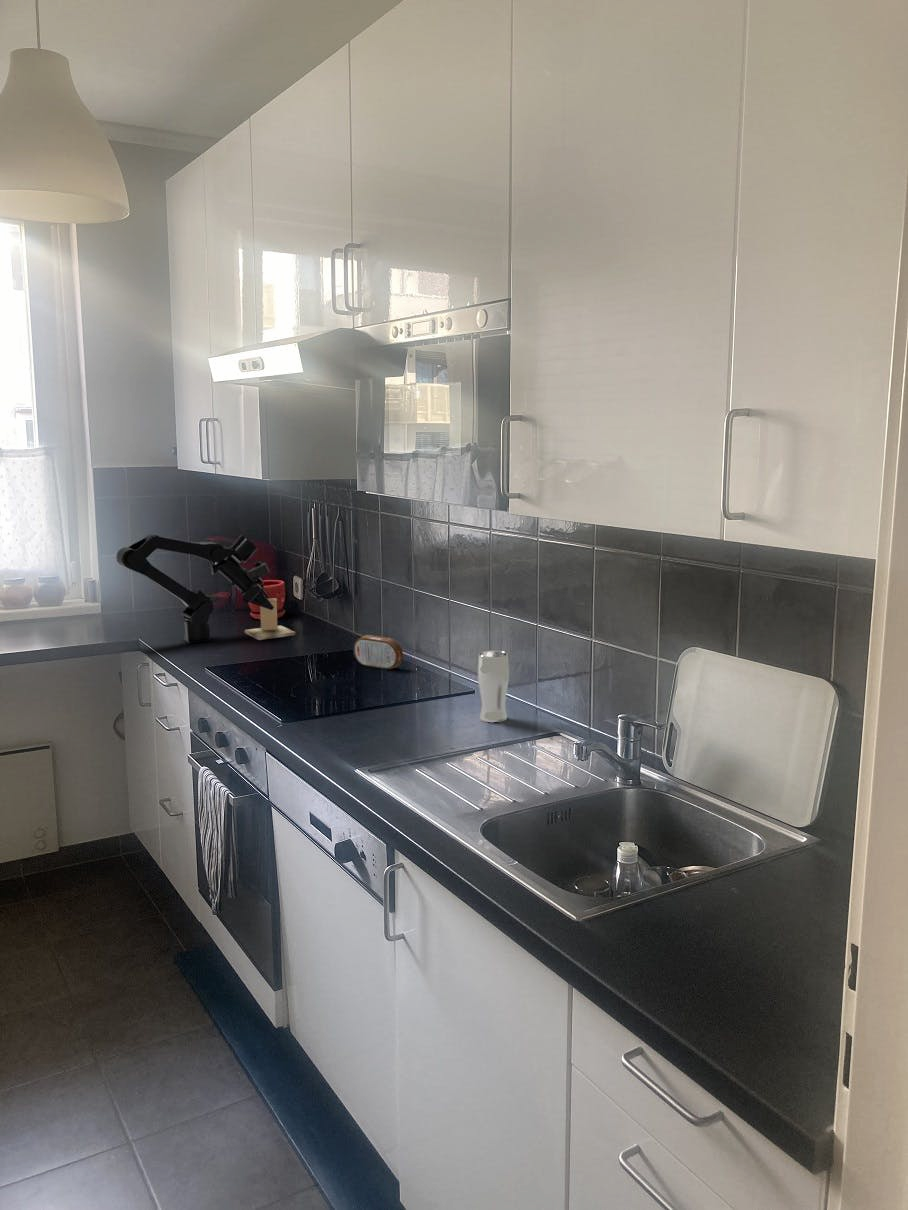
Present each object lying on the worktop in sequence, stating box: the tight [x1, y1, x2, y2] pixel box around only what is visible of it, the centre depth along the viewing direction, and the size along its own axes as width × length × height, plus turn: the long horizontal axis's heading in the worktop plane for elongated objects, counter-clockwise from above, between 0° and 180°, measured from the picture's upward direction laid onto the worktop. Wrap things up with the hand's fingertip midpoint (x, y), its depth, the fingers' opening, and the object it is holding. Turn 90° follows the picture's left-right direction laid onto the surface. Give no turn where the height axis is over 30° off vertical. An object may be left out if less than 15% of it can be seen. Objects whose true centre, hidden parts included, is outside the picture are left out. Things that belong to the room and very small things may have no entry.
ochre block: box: [260, 598, 278, 630], centre depth 310 cm, size 5×5×9 cm
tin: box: [353, 634, 404, 670], centre depth 268 cm, size 15×3×8 cm, turn 58°
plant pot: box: [248, 579, 286, 620], centre depth 336 cm, size 13×13×12 cm
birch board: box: [244, 625, 296, 641], centre depth 311 cm, size 12×12×1 cm
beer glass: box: [477, 649, 510, 724], centre depth 221 cm, size 7×7×15 cm
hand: (273, 607), depth 310 cm, fingers closed on ochre block, 5 cm apart
